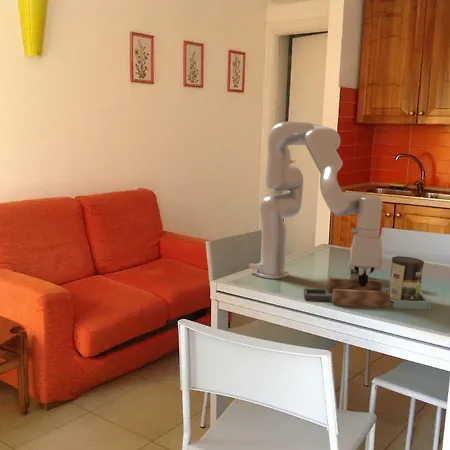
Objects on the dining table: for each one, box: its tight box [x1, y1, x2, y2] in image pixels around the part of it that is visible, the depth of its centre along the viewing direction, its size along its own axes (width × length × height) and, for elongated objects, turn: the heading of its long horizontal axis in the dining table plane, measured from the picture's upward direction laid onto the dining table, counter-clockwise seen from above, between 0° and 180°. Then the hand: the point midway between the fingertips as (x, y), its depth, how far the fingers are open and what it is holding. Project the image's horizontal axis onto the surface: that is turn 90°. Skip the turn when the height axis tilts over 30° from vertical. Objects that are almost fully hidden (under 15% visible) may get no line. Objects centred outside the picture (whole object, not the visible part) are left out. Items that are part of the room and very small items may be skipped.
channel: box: [328, 277, 391, 309], centre depth 186 cm, size 18×15×5 cm
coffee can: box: [388, 255, 425, 302], centre depth 185 cm, size 10×10×14 cm
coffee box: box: [348, 235, 366, 279], centre depth 211 cm, size 9×6×16 cm
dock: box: [384, 287, 431, 311], centre depth 185 cm, size 12×15×2 cm
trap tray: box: [303, 287, 330, 302], centre depth 188 cm, size 8×8×2 cm
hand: (362, 285), depth 186 cm, fingers closed
